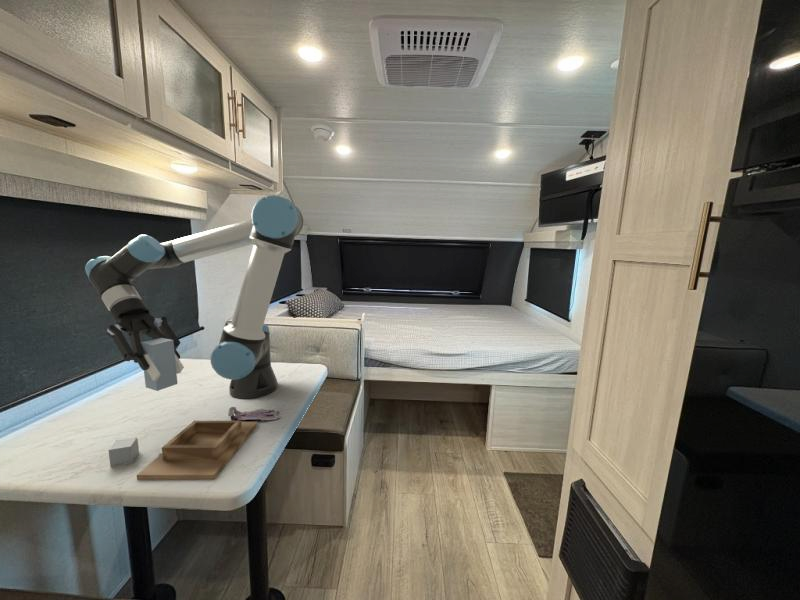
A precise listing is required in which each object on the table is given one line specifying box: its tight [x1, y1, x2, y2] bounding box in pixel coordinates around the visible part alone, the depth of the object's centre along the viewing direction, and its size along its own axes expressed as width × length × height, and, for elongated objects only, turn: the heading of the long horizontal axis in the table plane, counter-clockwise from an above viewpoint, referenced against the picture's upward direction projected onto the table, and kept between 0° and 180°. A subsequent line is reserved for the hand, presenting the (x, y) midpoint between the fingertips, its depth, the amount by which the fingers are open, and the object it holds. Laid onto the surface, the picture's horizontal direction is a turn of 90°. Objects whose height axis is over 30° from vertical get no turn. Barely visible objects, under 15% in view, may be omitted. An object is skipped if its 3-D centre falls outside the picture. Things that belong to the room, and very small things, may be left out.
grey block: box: [108, 436, 140, 467], centre depth 76 cm, size 4×4×4 cm
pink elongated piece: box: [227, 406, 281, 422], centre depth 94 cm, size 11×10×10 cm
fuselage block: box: [141, 338, 179, 392], centre depth 86 cm, size 5×5×12 cm
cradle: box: [136, 420, 259, 480], centre depth 80 cm, size 22×16×4 cm
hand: (169, 374), depth 85 cm, fingers closed on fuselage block, 5 cm apart
